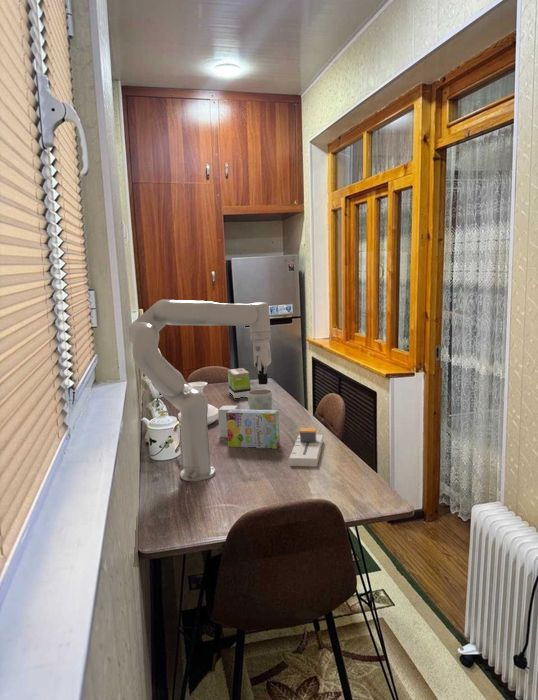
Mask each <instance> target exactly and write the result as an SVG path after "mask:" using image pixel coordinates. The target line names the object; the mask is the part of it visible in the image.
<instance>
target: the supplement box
mask: <svg viewBox="0 0 538 700" xmlns="http://www.w3.org/2000/svg"><path fill="white" fill-rule="evenodd" d="M230 409H239V406H238V405H222V406H221V407H220V408H218V416H219V417H218V427H219V428H218V429H219V438H228V433H227V418H226V412H228V411H229V410H230Z"/></svg>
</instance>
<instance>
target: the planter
mask: <svg viewBox="0 0 538 700" xmlns="http://www.w3.org/2000/svg"><path fill="white" fill-rule="evenodd" d="M247 400H248V408H249V409H248V410H273V391H272V389H267V388H258V389H257V388H256V389H251V391H249V392H248V397H247Z"/></svg>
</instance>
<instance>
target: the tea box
mask: <svg viewBox="0 0 538 700" xmlns="http://www.w3.org/2000/svg"><path fill="white" fill-rule="evenodd" d="M250 376H251V375H250V372H249V371H248V370H246V369H245V368H243V367H241V368H240V367H239V368H233V369H232V368H231V369H227V378H228V379H227V380H228V393H229V392H230V393H231V394H232V395H233V396H232V395H231V394H230V393H229V394H230V395H231V396H232V398H233V399H235V398H238V397H246V396H248V392H249V391H251V390H252V388H251V378H250Z"/></svg>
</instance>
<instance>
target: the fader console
mask: <svg viewBox="0 0 538 700" xmlns="http://www.w3.org/2000/svg"><path fill="white" fill-rule="evenodd" d="M323 443H324V435H323V434H316V442H300V433H299V434H298V435H297V438H296V441H295V443H294V446H293V448H292V451H291V453H290V456H289V466H290V467H318V464H319V459H320V457H321V451H322V447H323Z"/></svg>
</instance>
